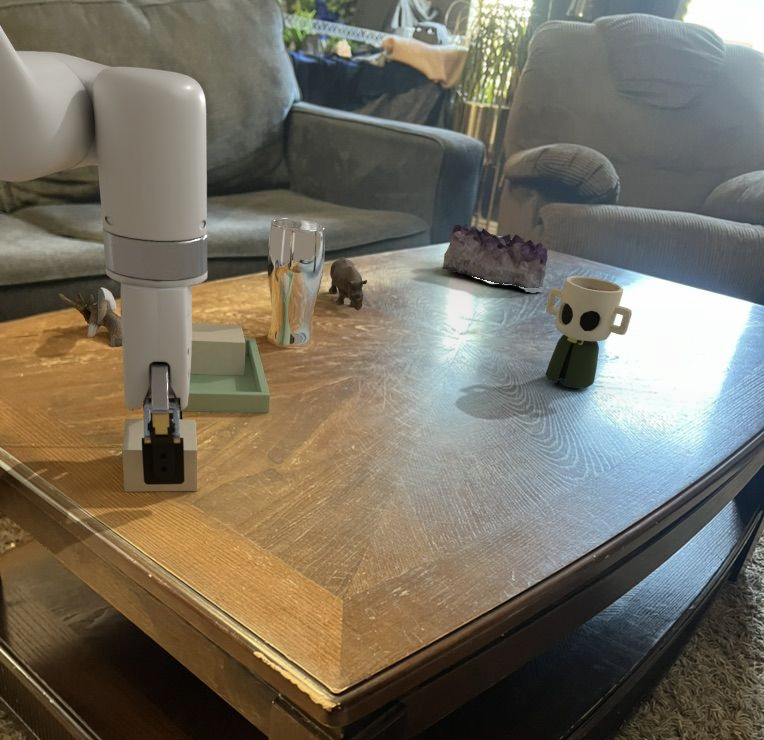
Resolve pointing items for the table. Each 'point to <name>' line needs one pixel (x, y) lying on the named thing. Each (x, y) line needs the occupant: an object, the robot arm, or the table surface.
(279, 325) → the beer glass
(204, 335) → the beige block
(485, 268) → the geode
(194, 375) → the frame tray
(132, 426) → the light grey rectangular block
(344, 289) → the rhino figurine
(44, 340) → the table surface
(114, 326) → the deer head bust
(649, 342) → the table surface
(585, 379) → the character mug
